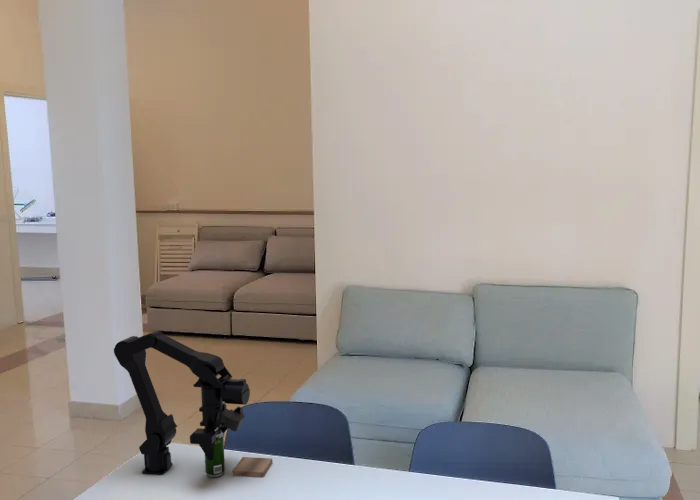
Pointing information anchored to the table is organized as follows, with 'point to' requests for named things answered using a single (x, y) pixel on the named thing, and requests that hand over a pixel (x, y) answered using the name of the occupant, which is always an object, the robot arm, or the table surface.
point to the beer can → (216, 457)
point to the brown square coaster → (252, 467)
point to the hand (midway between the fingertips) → (214, 455)
